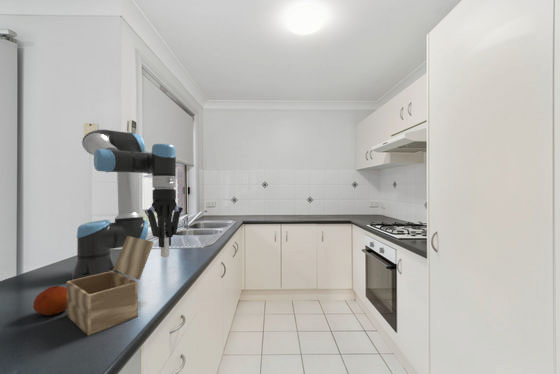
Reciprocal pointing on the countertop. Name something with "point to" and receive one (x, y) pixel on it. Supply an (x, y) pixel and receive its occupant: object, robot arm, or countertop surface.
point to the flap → (133, 257)
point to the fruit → (51, 301)
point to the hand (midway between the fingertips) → (165, 256)
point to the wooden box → (101, 301)
